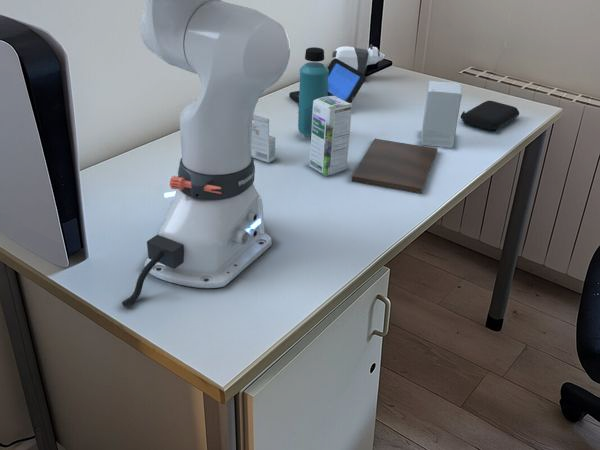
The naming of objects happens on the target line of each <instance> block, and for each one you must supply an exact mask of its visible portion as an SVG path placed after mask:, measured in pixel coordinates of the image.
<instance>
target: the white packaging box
mask: <svg viewBox="0 0 600 450" xmlns="http://www.w3.org/2000/svg"><path fill="white" fill-rule="evenodd" d="M426 90H427V91H426V97H425V105H424V113H423V119H422V125H421V134H420V145H421V146H428V147H437V148H450V149H453V148H454V146H455V138H456V132H457V128H458V120H459V116H460V115H459V114H460V109H461V104H462V103H461V102H462V98H463V97H462V96H463V86H462V83H458V82H448V81H434V80H428V83H427V89H426Z"/></svg>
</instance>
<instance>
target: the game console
mask: <svg viewBox="0 0 600 450" xmlns="http://www.w3.org/2000/svg"><path fill="white" fill-rule="evenodd" d="M327 68H328V70H329V73H328V85H329V86H328V88H329V89H328V95H327V96H336V97H337V98H340V99H342V100H344V101H346V102H348V103H351V104H353V101H354V100H355V98H356V96H357V95H358V93H359V91H360V90H361V88H362V87H363V85H364V83H365V82H366V81H365V80H366V77H367V76H366V74H365V73H364V74H363V73H361V72H360V71H358V70H356V69H354V68H352V67H351V66H349V65H347V64H345V63H344V62H342V61H340V60H338V59H336V58H335V59H334V58H333V59H332V60H331V61H330V63H329V65H328V66H327ZM364 81H365V82H364ZM299 91H300V90H296V91H291V92H289V93H288V97H289V98H290V99H291V100H292V101H293V102H295V103H297V105H299V103H298V99H299Z"/></svg>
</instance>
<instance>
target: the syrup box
mask: <svg viewBox="0 0 600 450" xmlns="http://www.w3.org/2000/svg"><path fill="white" fill-rule="evenodd" d="M352 109H353V103H348V102H346V101H344V100H342V99H340V98H337V97H336V96H327V97H322V98H319V99H316V100H314V101H313V114H312V133H311V136H310V151H309V152H310V154H309V167H310V168H312V169H314V170H315V171H317V172H319V173H320V174H322V175H323V176H324V177H328V176H331V175H335V174H337V173H341V172H343V171H347V169H348V157H349V145H350V133H351V123H352V122H351V120H352Z"/></svg>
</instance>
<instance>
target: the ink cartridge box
mask: <svg viewBox="0 0 600 450" xmlns="http://www.w3.org/2000/svg"><path fill="white" fill-rule="evenodd" d="M251 156H252V157H253V159H256V160H259V161H262V162H265V163H269V164H270V163H271V162H274V161H275V160H276V137H275V136H273V135H270V119H269V118H265V117H262V116H259V115H255V114H253V120H252V142H251Z"/></svg>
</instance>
